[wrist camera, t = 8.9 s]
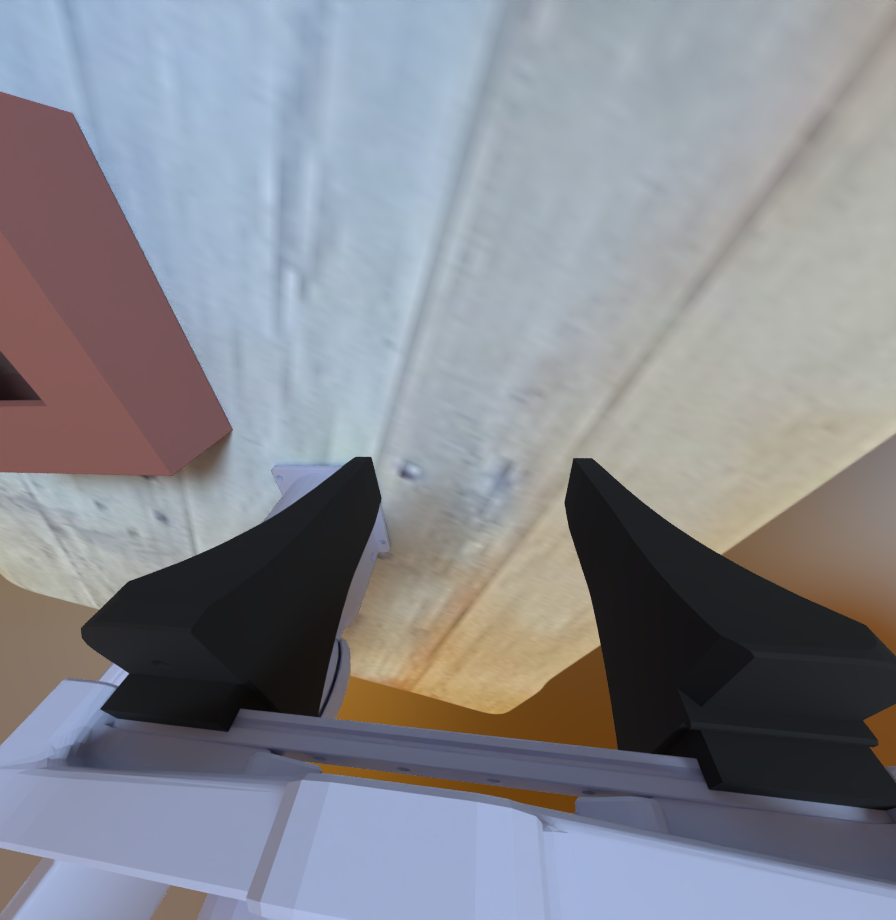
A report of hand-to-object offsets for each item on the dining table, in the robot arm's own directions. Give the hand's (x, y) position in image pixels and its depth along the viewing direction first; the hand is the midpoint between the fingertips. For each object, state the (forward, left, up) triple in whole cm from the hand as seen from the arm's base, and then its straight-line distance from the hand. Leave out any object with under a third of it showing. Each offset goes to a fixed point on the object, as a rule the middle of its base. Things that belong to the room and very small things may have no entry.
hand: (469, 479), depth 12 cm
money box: (+5, +25, -10) cm, 27 cm away
